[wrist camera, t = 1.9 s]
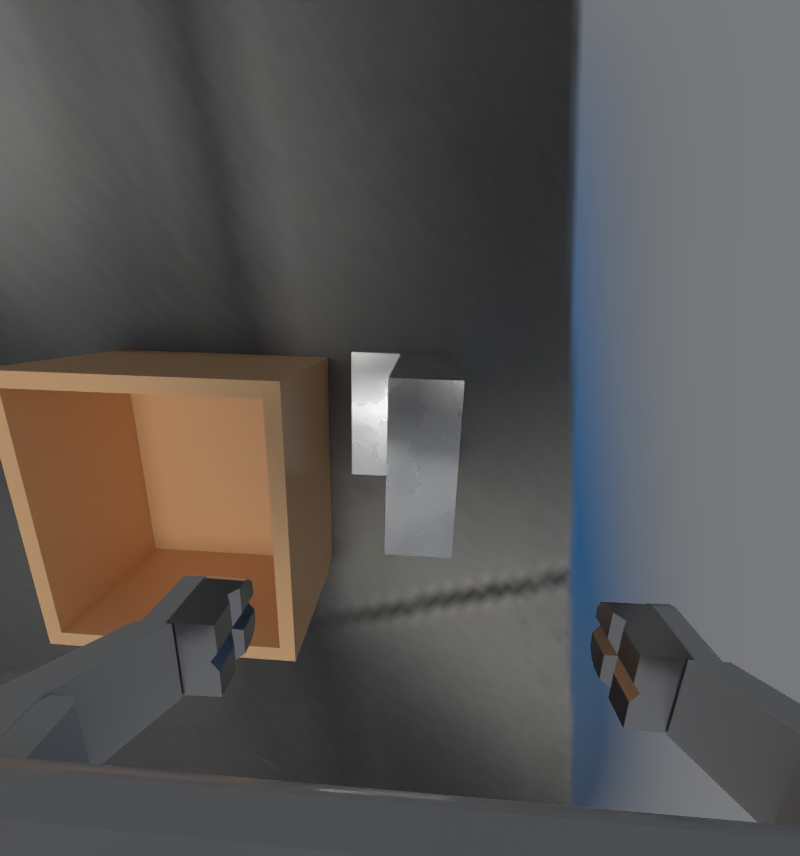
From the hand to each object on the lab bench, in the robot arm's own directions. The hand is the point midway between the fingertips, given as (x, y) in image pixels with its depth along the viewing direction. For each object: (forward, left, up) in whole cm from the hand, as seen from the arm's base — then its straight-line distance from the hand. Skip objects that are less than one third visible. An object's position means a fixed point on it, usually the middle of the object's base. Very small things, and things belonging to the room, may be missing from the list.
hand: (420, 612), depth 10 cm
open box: (+4, -13, -18) cm, 22 cm away
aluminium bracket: (0, -1, -18) cm, 18 cm away
